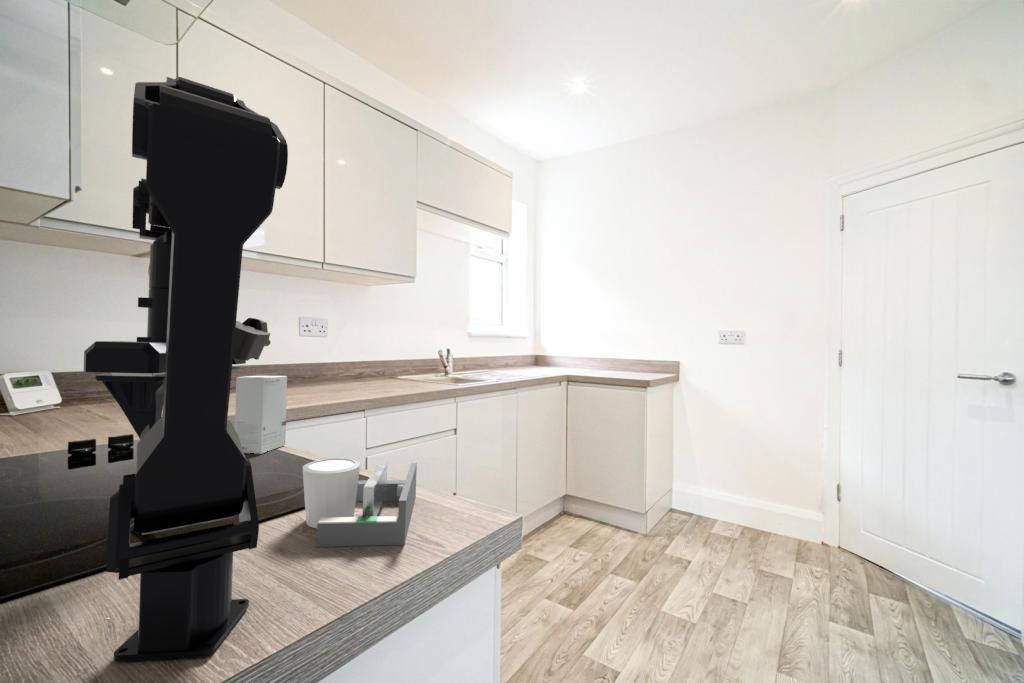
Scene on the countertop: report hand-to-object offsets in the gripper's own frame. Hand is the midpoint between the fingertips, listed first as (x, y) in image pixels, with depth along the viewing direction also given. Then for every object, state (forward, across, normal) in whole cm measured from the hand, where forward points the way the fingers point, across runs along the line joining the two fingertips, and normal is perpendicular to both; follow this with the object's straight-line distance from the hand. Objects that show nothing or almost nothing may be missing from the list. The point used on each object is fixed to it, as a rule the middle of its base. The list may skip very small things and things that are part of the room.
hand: (177, 433), depth 50 cm
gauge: (+12, +6, -20) cm, 24 cm away
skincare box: (+12, +43, +8) cm, 45 cm away
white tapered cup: (+12, +6, -15) cm, 20 cm away
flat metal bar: (+11, +5, -20) cm, 24 cm away
